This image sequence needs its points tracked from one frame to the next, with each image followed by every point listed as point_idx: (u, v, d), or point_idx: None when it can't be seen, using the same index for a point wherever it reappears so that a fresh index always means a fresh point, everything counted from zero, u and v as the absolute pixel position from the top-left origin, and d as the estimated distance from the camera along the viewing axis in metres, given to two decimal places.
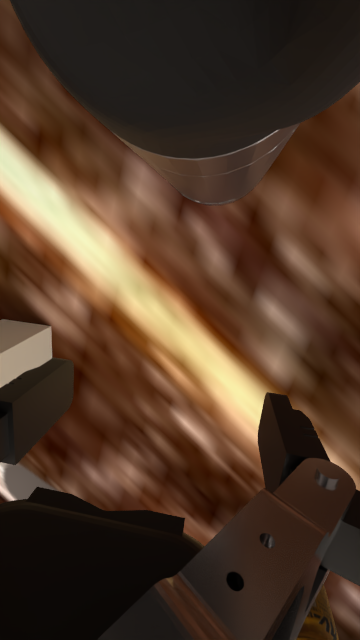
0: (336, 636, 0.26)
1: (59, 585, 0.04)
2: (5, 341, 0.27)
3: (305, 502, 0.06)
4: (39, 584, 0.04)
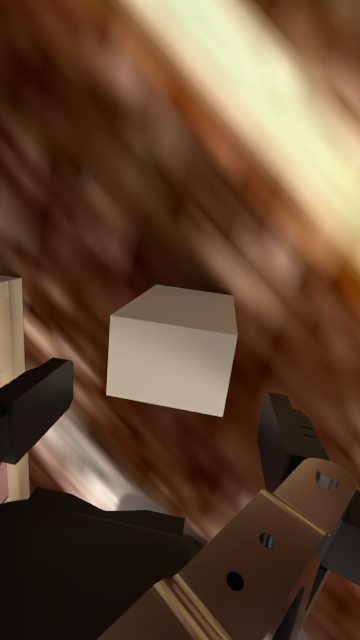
0: None
1: (59, 585, 0.04)
2: (210, 309, 0.16)
3: (305, 502, 0.06)
4: (39, 584, 0.04)
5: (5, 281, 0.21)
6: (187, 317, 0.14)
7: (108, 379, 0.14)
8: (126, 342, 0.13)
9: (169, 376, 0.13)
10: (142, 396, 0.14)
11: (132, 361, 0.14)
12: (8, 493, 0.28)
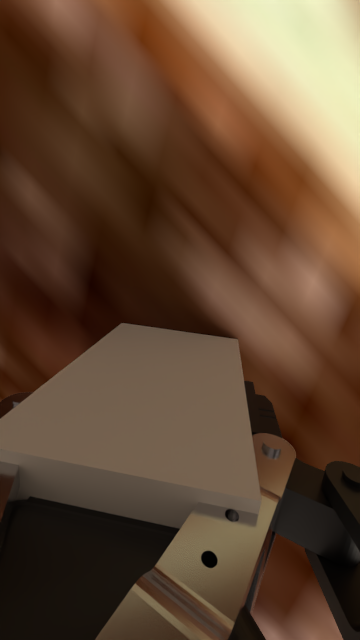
0: None
1: (59, 585, 0.04)
2: (201, 384, 0.09)
3: None
4: (40, 582, 0.04)
5: None
6: (152, 423, 0.07)
7: None
8: None
9: None
10: None
11: None
12: None
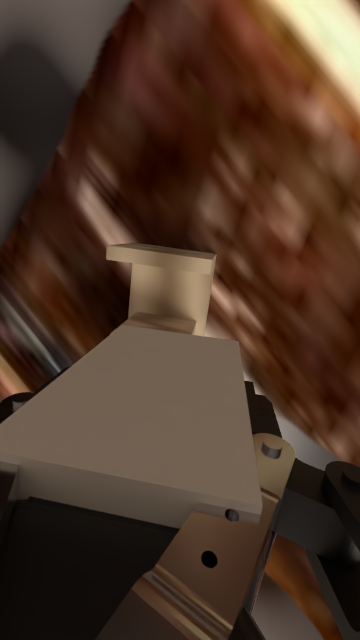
0: None
1: (59, 585, 0.04)
2: (201, 387, 0.09)
3: None
4: (39, 584, 0.04)
5: (215, 254, 0.31)
6: (153, 426, 0.07)
7: None
8: None
9: None
10: None
11: None
12: None
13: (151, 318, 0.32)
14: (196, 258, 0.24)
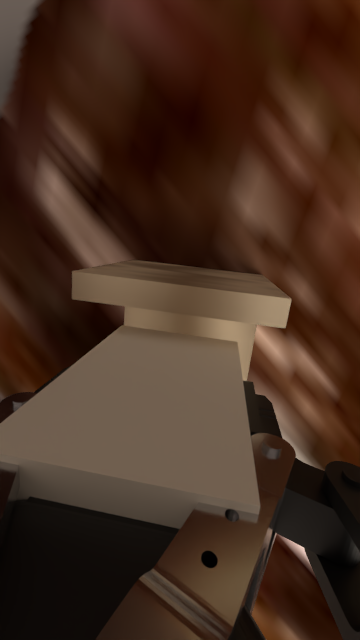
0: None
1: (59, 585, 0.04)
2: (200, 388, 0.09)
3: None
4: (40, 583, 0.04)
5: (264, 278, 0.18)
6: (152, 427, 0.07)
7: None
8: None
9: None
10: None
11: None
12: None
13: None
14: (257, 296, 0.12)
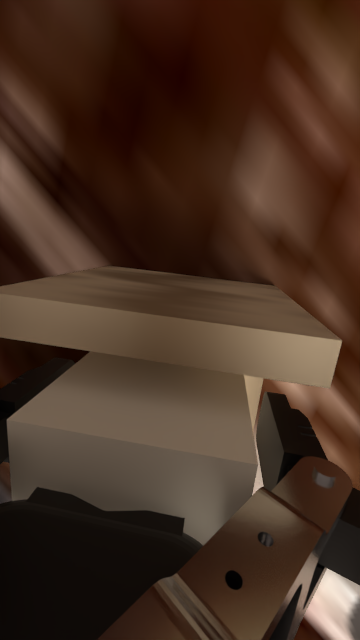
0: None
1: (59, 585, 0.04)
2: (204, 373, 0.10)
3: (302, 500, 0.06)
4: (39, 583, 0.04)
5: (280, 291, 0.14)
6: (162, 405, 0.08)
7: None
8: (41, 467, 0.07)
9: None
10: None
11: None
12: None
13: None
14: (282, 334, 0.07)
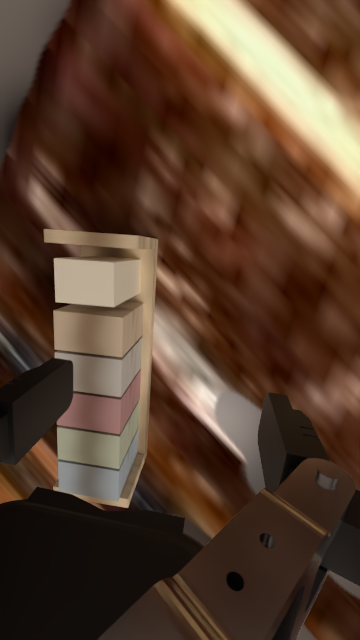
0: None
1: (59, 585, 0.04)
2: None
3: (305, 502, 0.06)
4: (40, 583, 0.04)
5: (154, 238, 0.34)
6: None
7: (56, 293, 0.27)
8: (62, 271, 0.27)
9: (85, 288, 0.27)
10: (73, 300, 0.27)
11: (66, 281, 0.27)
12: (139, 397, 0.39)
13: None
14: (124, 235, 0.27)
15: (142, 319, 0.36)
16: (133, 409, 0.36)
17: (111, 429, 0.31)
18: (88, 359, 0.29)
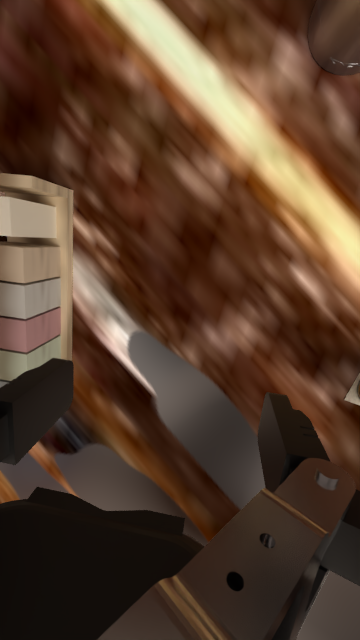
0: None
1: (59, 585, 0.04)
2: None
3: (305, 502, 0.06)
4: (40, 582, 0.04)
5: (66, 188, 0.39)
6: None
7: None
8: None
9: None
10: None
11: None
12: (60, 333, 0.44)
13: (20, 243, 0.40)
14: (21, 175, 0.32)
15: (59, 261, 0.41)
16: (50, 340, 0.42)
17: (19, 348, 0.36)
18: None
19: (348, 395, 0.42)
